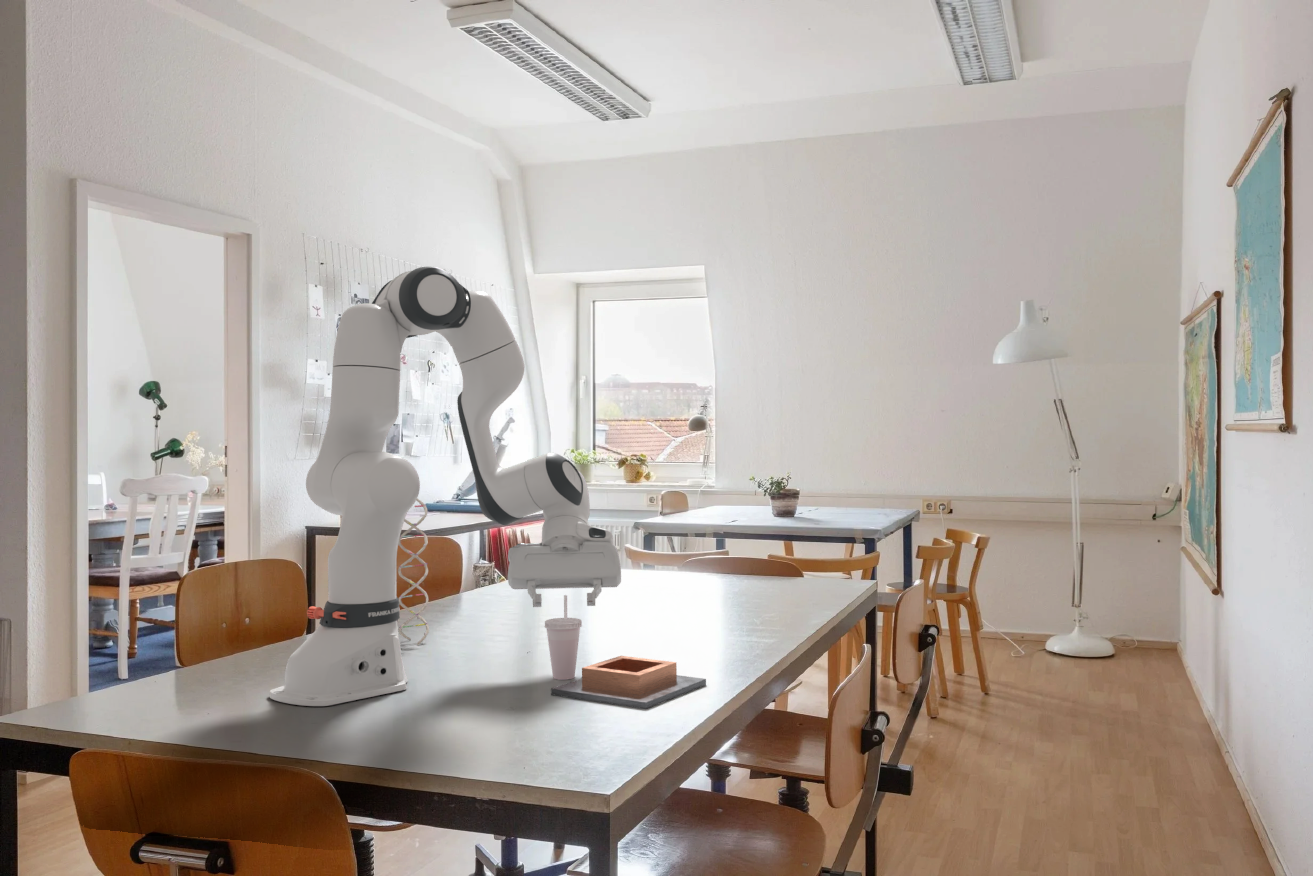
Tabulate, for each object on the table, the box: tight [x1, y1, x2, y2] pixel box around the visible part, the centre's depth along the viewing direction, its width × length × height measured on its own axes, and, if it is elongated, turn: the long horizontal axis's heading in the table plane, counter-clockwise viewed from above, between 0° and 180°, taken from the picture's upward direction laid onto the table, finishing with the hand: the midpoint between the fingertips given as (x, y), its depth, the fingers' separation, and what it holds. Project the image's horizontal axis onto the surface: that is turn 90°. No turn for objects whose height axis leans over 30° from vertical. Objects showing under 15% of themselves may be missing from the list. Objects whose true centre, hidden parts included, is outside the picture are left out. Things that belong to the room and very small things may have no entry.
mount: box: [550, 655, 707, 710], centre depth 170 cm, size 18×18×4 cm
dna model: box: [397, 497, 430, 646], centre depth 213 cm, size 7×6×30 cm
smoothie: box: [544, 594, 583, 681], centre depth 180 cm, size 6×6×14 cm
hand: (564, 604), depth 184 cm, fingers open, 8 cm apart
